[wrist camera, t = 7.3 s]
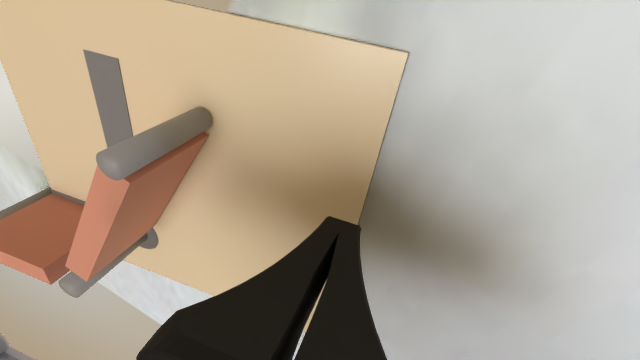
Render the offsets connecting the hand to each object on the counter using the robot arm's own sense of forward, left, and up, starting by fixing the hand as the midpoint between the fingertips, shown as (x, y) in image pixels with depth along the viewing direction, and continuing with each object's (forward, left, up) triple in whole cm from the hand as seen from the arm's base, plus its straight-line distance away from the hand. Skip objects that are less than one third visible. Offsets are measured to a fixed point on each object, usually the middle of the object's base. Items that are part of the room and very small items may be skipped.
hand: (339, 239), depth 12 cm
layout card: (+9, +1, -2) cm, 9 cm away
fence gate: (+9, +1, -1) cm, 9 cm away
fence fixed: (+15, +6, -2) cm, 17 cm away
